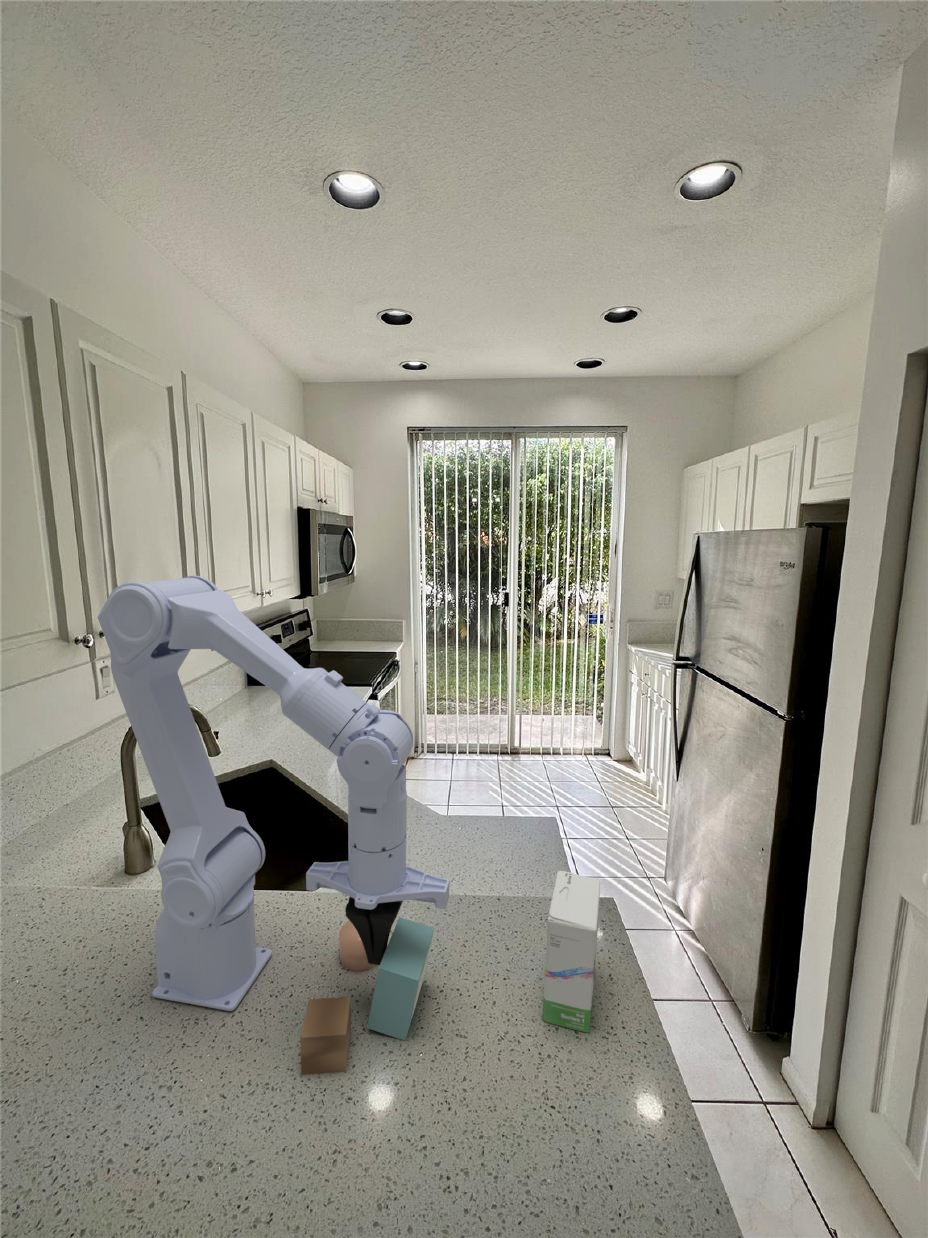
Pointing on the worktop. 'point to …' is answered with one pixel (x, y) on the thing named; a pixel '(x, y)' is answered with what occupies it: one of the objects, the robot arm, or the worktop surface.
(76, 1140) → the worktop surface
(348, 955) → the peach rounded dome
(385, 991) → the teal block
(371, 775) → the robot arm
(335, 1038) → the walnut cube
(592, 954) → the ink box
